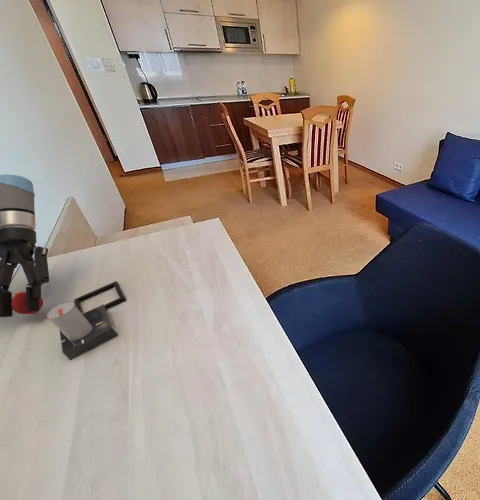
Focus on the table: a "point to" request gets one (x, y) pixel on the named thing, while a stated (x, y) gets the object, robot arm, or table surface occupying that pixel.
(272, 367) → the table surface
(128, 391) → the table surface
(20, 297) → the onion
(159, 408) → the table surface
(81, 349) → the panel
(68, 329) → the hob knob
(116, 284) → the frame
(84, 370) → the table surface
